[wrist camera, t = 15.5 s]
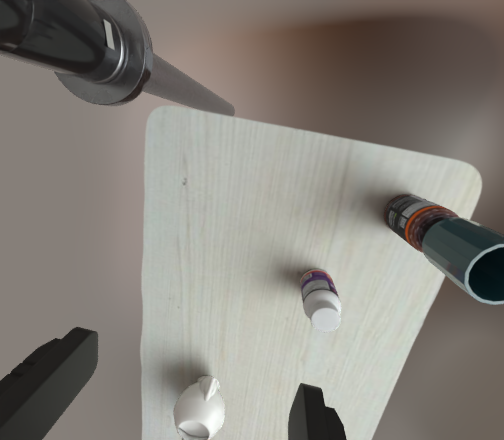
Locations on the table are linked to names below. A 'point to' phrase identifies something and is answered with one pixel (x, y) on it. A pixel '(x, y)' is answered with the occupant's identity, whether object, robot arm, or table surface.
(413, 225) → the supplement bottle
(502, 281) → the cup
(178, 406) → the teapot
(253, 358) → the table surface
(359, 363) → the table surface
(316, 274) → the pill bottle
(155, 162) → the table surface
